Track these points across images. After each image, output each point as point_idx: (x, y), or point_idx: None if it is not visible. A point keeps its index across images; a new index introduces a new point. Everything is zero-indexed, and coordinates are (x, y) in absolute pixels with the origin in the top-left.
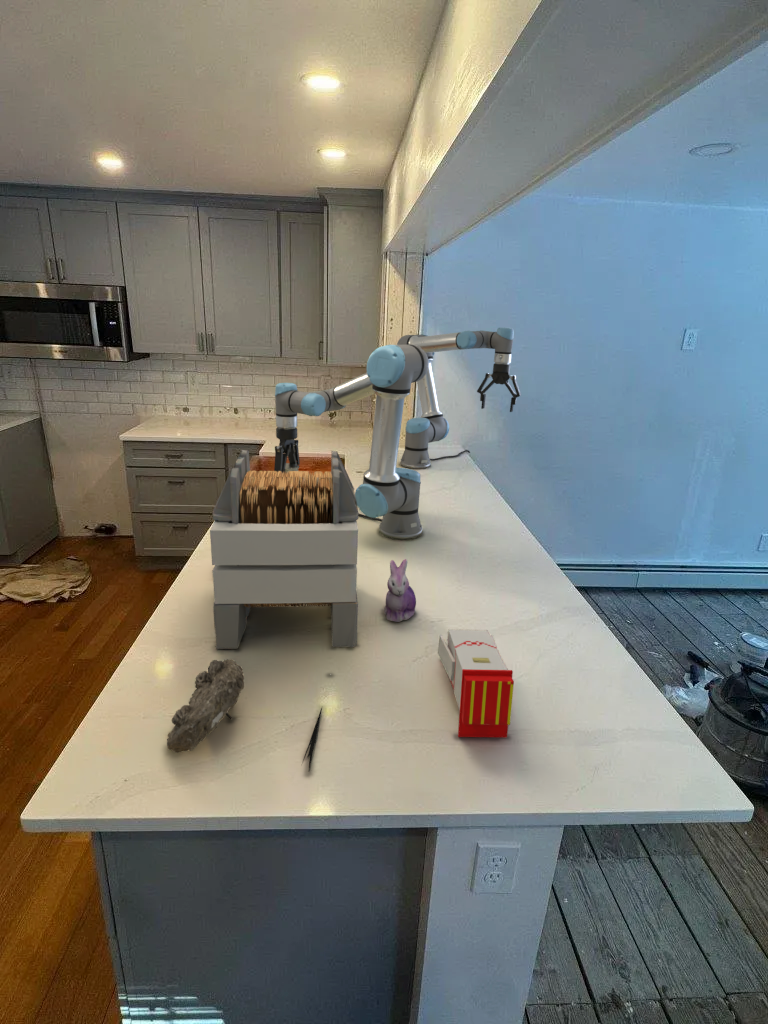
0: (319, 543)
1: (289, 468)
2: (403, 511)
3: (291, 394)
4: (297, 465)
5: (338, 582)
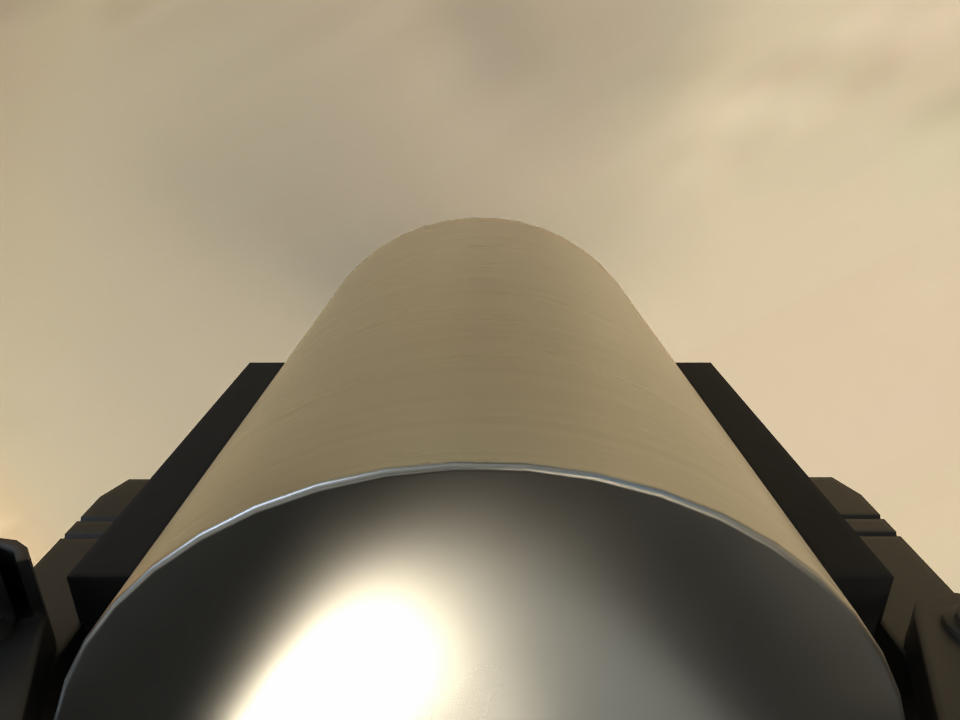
0: None
1: (806, 643)
2: None
3: None
4: (182, 577)
5: None
